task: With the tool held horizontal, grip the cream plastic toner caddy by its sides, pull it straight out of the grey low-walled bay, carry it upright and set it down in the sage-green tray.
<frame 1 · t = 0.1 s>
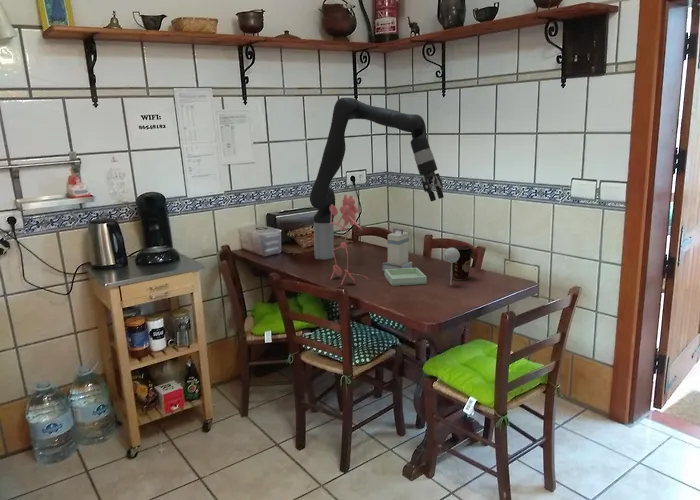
hand: (437, 199, 224), 31 cm above the table, tool tilted 20°, fingers open, 8 cm apart
lollipop: (450, 285, 215), on the table
figurine: (350, 280, 223), on the table
tray: (404, 280, 222), on the table
caddy: (397, 269, 237), resting in bay
bay: (397, 269, 237), on the table
coffee cup: (460, 278, 223), on the table
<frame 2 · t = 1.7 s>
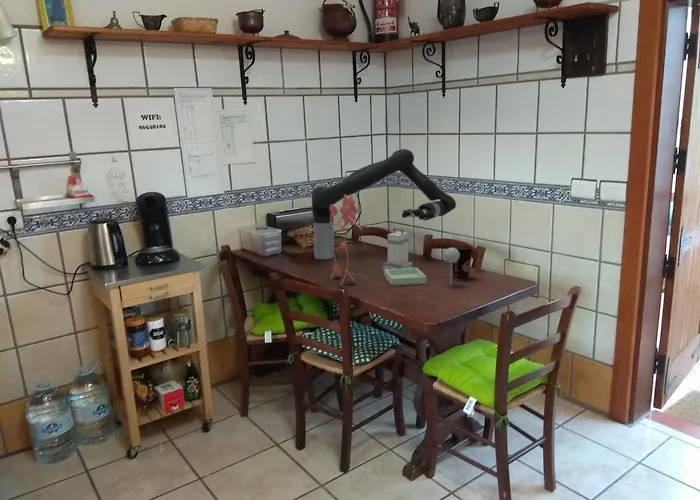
hand: (411, 216, 241), 22 cm above the table, tool horizontal, fingers open, 8 cm apart
nothing on the table moved.
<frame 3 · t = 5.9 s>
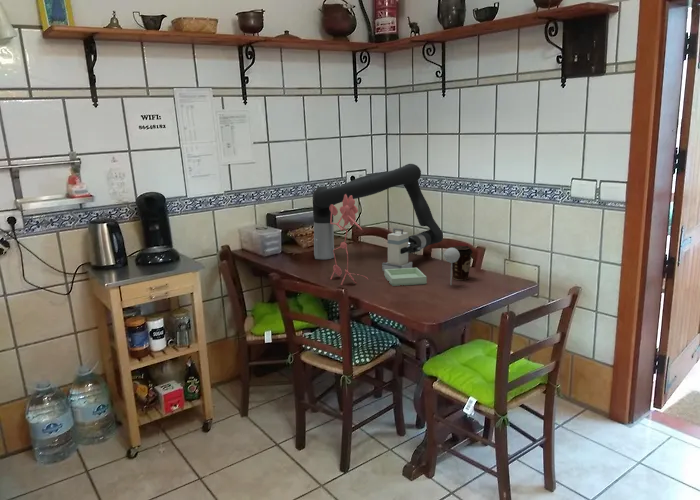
hand: (395, 250, 233), 9 cm above the table, tool horizontal, fingers closed on caddy, 5 cm apart
caddy: (397, 269, 237), resting in bay, touching gripper
everything else where it was.
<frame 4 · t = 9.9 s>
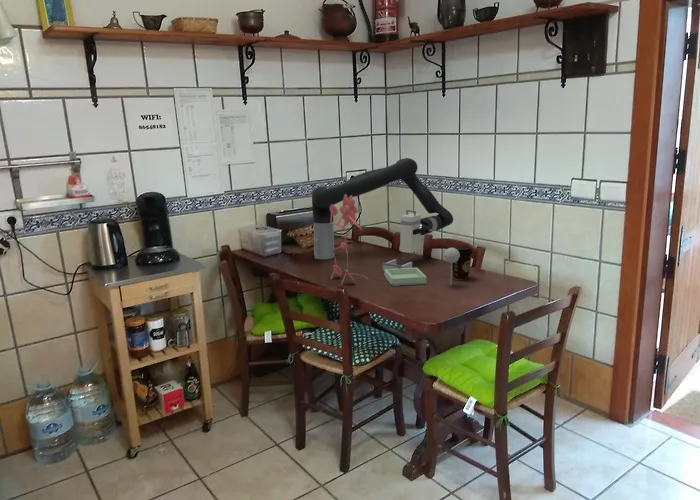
hand: (407, 231, 240), 15 cm above the table, tool horizontal, fingers closed on caddy, 5 cm apart
caddy: (409, 250, 244), point 6 cm above the table, touching gripper
everything else where it was.
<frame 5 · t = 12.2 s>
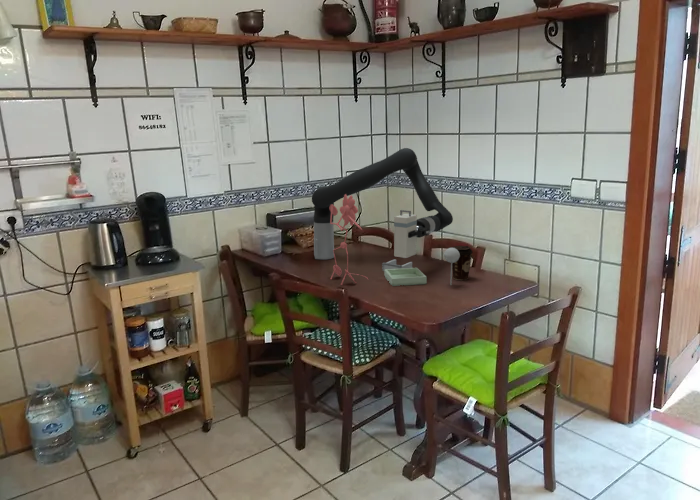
hand: (402, 234, 215), 19 cm above the table, tool horizontal, fingers closed on caddy, 5 cm apart
caddy: (405, 255, 219), point 10 cm above the table, touching gripper
everything else where it was.
when the fingers open (11 cm above the table, at t = 14.2 s): caddy drops 1 cm, resting on tray.
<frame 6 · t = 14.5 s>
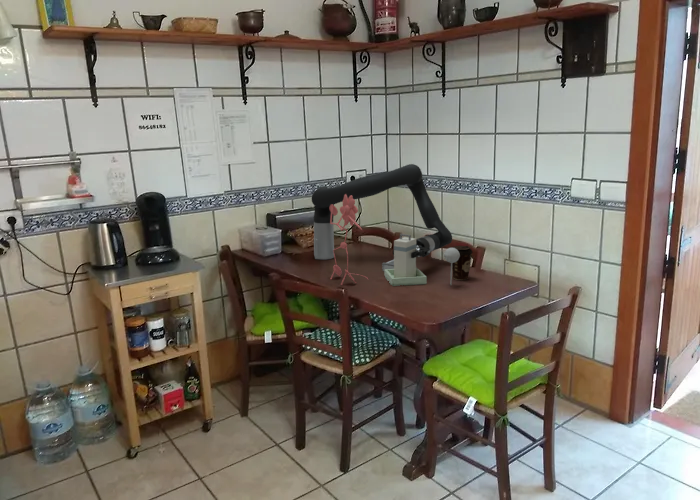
hand: (402, 254, 218), 11 cm above the table, tool horizontal, fingers open, 8 cm apart
caddy: (404, 278, 222), point 1 cm above the table, touching tray
everything else where it was.
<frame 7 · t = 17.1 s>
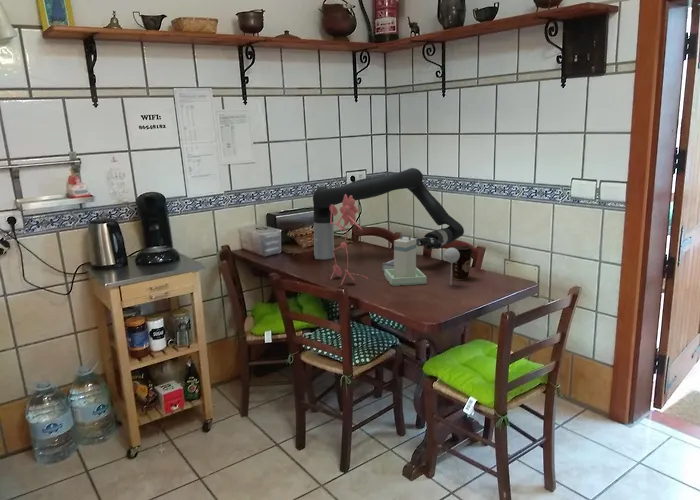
hand: (417, 245, 228), 12 cm above the table, tool horizontal, fingers open, 8 cm apart
nothing on the table moved.
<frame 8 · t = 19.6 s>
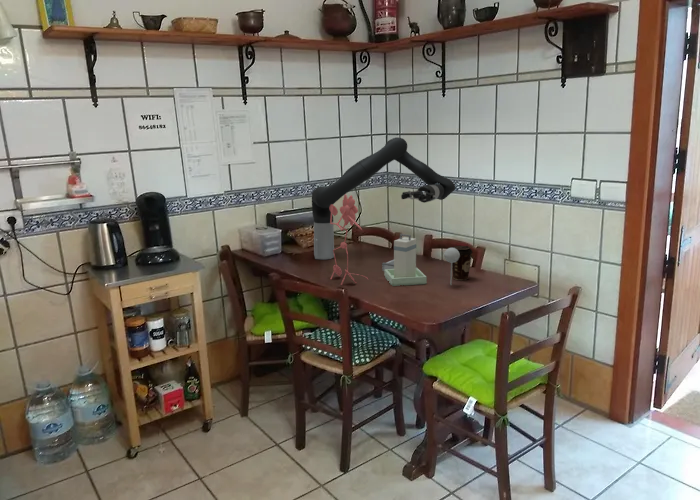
hand: (410, 197, 240), 30 cm above the table, tool horizontal, fingers open, 8 cm apart
nothing on the table moved.
at the end: caddy inside the target area on the tray (0.2 cm from its centre), point 0.8 cm above the tray's base; caddy tilted 0°; the gripper is holding nothing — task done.
